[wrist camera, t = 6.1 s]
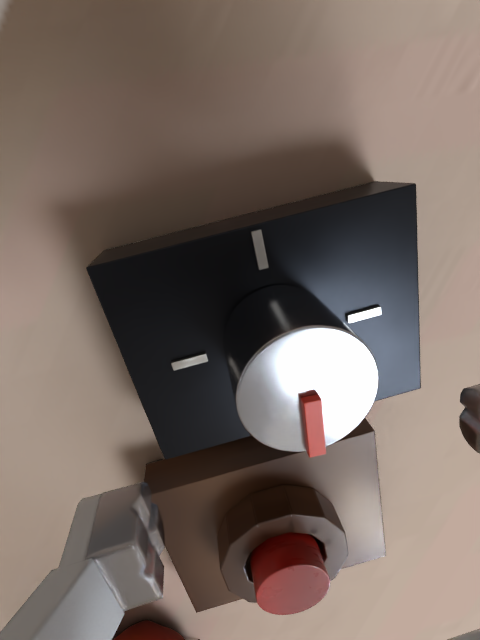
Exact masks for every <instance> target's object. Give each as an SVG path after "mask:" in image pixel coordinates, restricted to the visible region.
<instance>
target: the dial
mask: <svg viewBox="0 0 480 640" xmlns="http://www.w3.org/2000/svg"><path fill="white" fill-rule="evenodd" d="M223 349H224V354H225V359H226V363H227V368H228V372H229V377H230V382H231V386H232V391H233V395H234V400H235V404H236V409H237V413H238V416H239V418H240V420H241V423H242V424H243V426H244V427H245V429H246V430H247V431H248V432H249V433H250V434H251V435H252V436H253V437H254V438H255V439H256V440H258V441H259V442H261V443H263V444H264V445H266V446H269V447H271V448H274V449H278V450H282V451H288V452H302V451H307V454H308V456H309V457H310V458H311V457H315V456H319V455H324V454H326V446H328V445H330V444H332V443H334V442H336V441H338V440H340V439H341V438H343V437H345V436H346V435H348V434H349V433H350V432H351V431H353V430H354V429H355V428H356V427H357V426H358V425H359V424H360V423H361V422H362V420H363V419H364V418H365V417H366V415H367V414H368V412H369V411H370V409H371V407H372V405H373V403H374V401H375V398H376V395H377V391H378V385H379V373H378V367H377V362H376V360H375V357H374V355H373V353H372V352H371V350H370V348H369V347H368V346H367V345H366V344H365V342H364V341H363V340H362V339H361V338H359V337H358V336H357V335H356V334H355V333H354V332H353V331H352V330H351V329H350V328H349V327H348V326H347V325H346V324H345V323H344V322H343V321H342V320H341V319H339V318H338V317H337V316H336V315H335V314H334V313H333V312H332V311H331V310H330V309H329V308H328V307H327V306H326V305H325V304H324V303H323V302H322V301H321V300H320V299H318V298H317V297H316V296H315V295H314V294H312V293H311V292H309V291H307V290H305V289H303V288H300V287H297V286H292V285H273V286H268V287H265V288H262V289H259V290H257V291H255V292H253V293H251V294H250V295H248V296H247V297H245V298H244V299H243V300H242V301H241V302H240V303H239V304H238V305H237V306H236V307H235V308H234V309H233V311H232V312H231V314H230V316H229V317H228V320H227V322H226V324H225V328H224V332H223Z"/></svg>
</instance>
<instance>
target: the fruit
mask: <svg viewBox="0 0 480 640" xmlns="http://www.w3.org/2000/svg"><path fill="white" fill-rule="evenodd" d="M113 640H185V639H184V638H183V637H182V636H181V635H180V634H179V633H178V632H176V631H174V630H172V629H170V628H167V627H164V626H161V625H159V624H157V623H154V622H152V621H149V620H145V621H141V622H139V623H136V624H134V625H132V626H130V627H129V628H127V629H126V630H124V631H123V632H122V633H121V634H119V635H118V636H117V637H116V638H114V639H113ZM198 640H200V639H198Z"/></svg>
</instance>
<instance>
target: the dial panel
mask: <svg viewBox="0 0 480 640" xmlns="http://www.w3.org/2000/svg"><path fill="white" fill-rule="evenodd" d="M86 269H87V272H88V274H89V276H90V279H91V281H92V284H93V286H94V289H95V291H96V293H97V296H98V298H99V301H100V303H101V306H102V308H103V310H104V313H105V315H106V318H107V320H108V323H109V325H110V327H111V330H112V332H113V335H114V337H115V340H116V342H117V344H118V347H119V349H120V352H121V354H122V357H123V359H124V361H125V364H126V366H127V369H128V371H129V373H130V376H131V378H132V381H133V383H134V386H135V388H136V390H137V393H138V395H139V398H140V400H141V403H142V405H143V407H144V410H145V412H146V415H147V417H148V420H149V422H150V424H151V427H152V429H153V432H154V434H155V437H156V439H157V441H158V444H159V446H160V449H161V451H162V454H163V456H164V458H165V460H167V459H170V458H174V457H178V456H181V455H185V454H188V453H192V452H195V451H199V450H202V449H206V448H210V447H213V446H217V445H220V444H224V443H227V442H231V441H235V440H238V439H242V438H245V437H249V436H252V435H251V434H250V433H249V432H248V431H247V430H246V429H245V427H244V426H243V424H242V423H241V420H240V418H239V416H238V413H237V409H236V404H235V400H234V395H233V391H232V386H231V382H230V377H229V372H228V368H227V363H226V359H225V354H224V349H223V332H224V328H225V324H226V322H227V320H228V317H229V316H230V314H231V312H232V311H233V309H234V308H235V307H236V306H237V305H238V304H239V303H240V302H241V301H242V300H243V299H244V298H245V297H247V296H248V295H250V294H251V293H253V292H255V291H257V290H259V289H262V288H265V287H268V286H273V285H292V286H297V287H300V288H303V289H305V290H307V291H309V292H311V293H312V294H314V295H315V296H316V297H317V298H318V299H320V300H321V301H322V302H323V303H324V304H325V305H326V306H327V307H328V308H329V309H330V310H331V311H332V312H333V313H334V314H335V315H336V316H337V317H338V318H339V319H341V320H342V321H343V322H344V323H345V324H346V325H347V326H348V327H349V328H350V329H351V330H352V331H353V332H354V333H355V334H356V335H357V336H358V337H359V338H361V339H362V340H363V341H364V342H365V344H366V345H367V346H368V347H369V348H370V350H371V352H372V353H373V355H374V357H375V360H376V362H377V367H378V373H379V385H378V391H377V395H376V398H375V401H377V400H381V399H384V398H388V397H391V396H395V395H398V394H402V393H405V392H409V391H413V390H416V389H420V388H421V380H420V337H419V294H418V251H417V208H416V184H415V183H397V182H378V181H375V182H371V183H367V184H363V185H359V186H355V187H351V188H347V189H343V190H339V191H335V192H331V193H327V194H323V195H319V196H316V197H312V198H308V199H304V200H300V201H296V202H292V203H288V204H284V205H280V206H276V207H272V208H268V209H264V210H260V211H256V212H252V213H249V214H245V215H241V216H237V217H233V218H229V219H225V220H221V221H217V222H213V223H209V224H205V225H201V226H197V227H193V228H189V229H186V230H182V231H178V232H174V233H170V234H166V235H162V236H158V237H154V238H150V239H146V240H142V241H138V242H134V243H130V244H126V245H122V246H119V247H115V248H111V249H107V250H104V251H103V252H102V253H101V254H100V255H99V256H98V257H97V258H96V259H95V260H94V261H93V262H92V263H91V264H90V265H89V266H88V267H87V268H86Z"/></svg>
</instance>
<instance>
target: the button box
mask: <svg viewBox="0 0 480 640" xmlns="http://www.w3.org/2000/svg"><path fill="white" fill-rule="evenodd" d="M144 482H146V483H147V484H148V486H149V488H150V490H151V492H152V498H151V502H152V503H154V504H156V505H158V508H159V510H160V512H161V516H162V520H163V525H164V534H165V547H166V549H167V551H168V554H169V556H170V558H171V560H172V562H173V564H174V566H175V568H176V570H177V572H178V575H179V577H180V579H181V581H182V583H183V585H184V587H185V589H186V591H187V594H188V596H189V598H190V600H191V602H192V604H193V606H194V608H195V610H196V612H200V611H203V610H207V609H210V608H213V607H217V606H220V605H223V604H227V603H230V602H233V601H237V600H240V599H245V600H247V601H248V602H254V603H257V601H256V596H255V590H254V584H253V578H252V572H251V566H250V557H251V554H252V551H253V550H254V549H255V548H256V547H258V546H259V545H260V544H262V543H263V542H264V541H266V540H267V539H268V538H272V537H275V536H279V535H282V534H285V533H289V532H293V533H304V534H309V535H311V536H312V537H313V538H314V539H315V540H316V542H317V544H318V547H319V550H320V553H321V555H322V558H323V561H324V564H325V567H326V569H327V572H328V575H329V578H330V581H331V580H333V579H334V578H335V577H336V576H337V574H338V572H339V571H340V569H343V568H346V567H350V566H353V565H356V564H360V563H363V562H366V561H370V560H373V559H376V558H380V557H383V556H386V551H385V540H384V529H383V518H382V507H381V496H380V485H379V474H378V463H377V452H376V441H375V431H374V430H373V428H372V427H371V426H370V424H369V423H368V421H367V420H366V419H365V418H364V419H363V420H362V422H361V423H360V424H359V425H358V426H357V427H356V428H355V429H354V430H353V431H351V432H350V433H349V434H348V435H346V436H345V437H343V438H341V439H340V440H338V441H336V442H334V443H332V444H330V445H328V446H326V454H324V455H319V456H315V457H311V458H310V457H309V456H308V454H307V451H302V452H288V451H282V450H278V449H274V448H271V447H269V446H266V445H264V444H263V443H261V442H259V441H258V440H256V439H255V438H254V437H253V436H249V437H245V438H242V439H238V440H235V441H231V442H227V443H224V444H220V445H217V446H213V447H210V448H206V449H202V450H199V451H195V452H192V453H188V454H185V455H181V456H178V457H174V458H170V459H167V460H165V459H163V460H160V461H156V462H152V463H149V464H146V469H145V477H144Z"/></svg>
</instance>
